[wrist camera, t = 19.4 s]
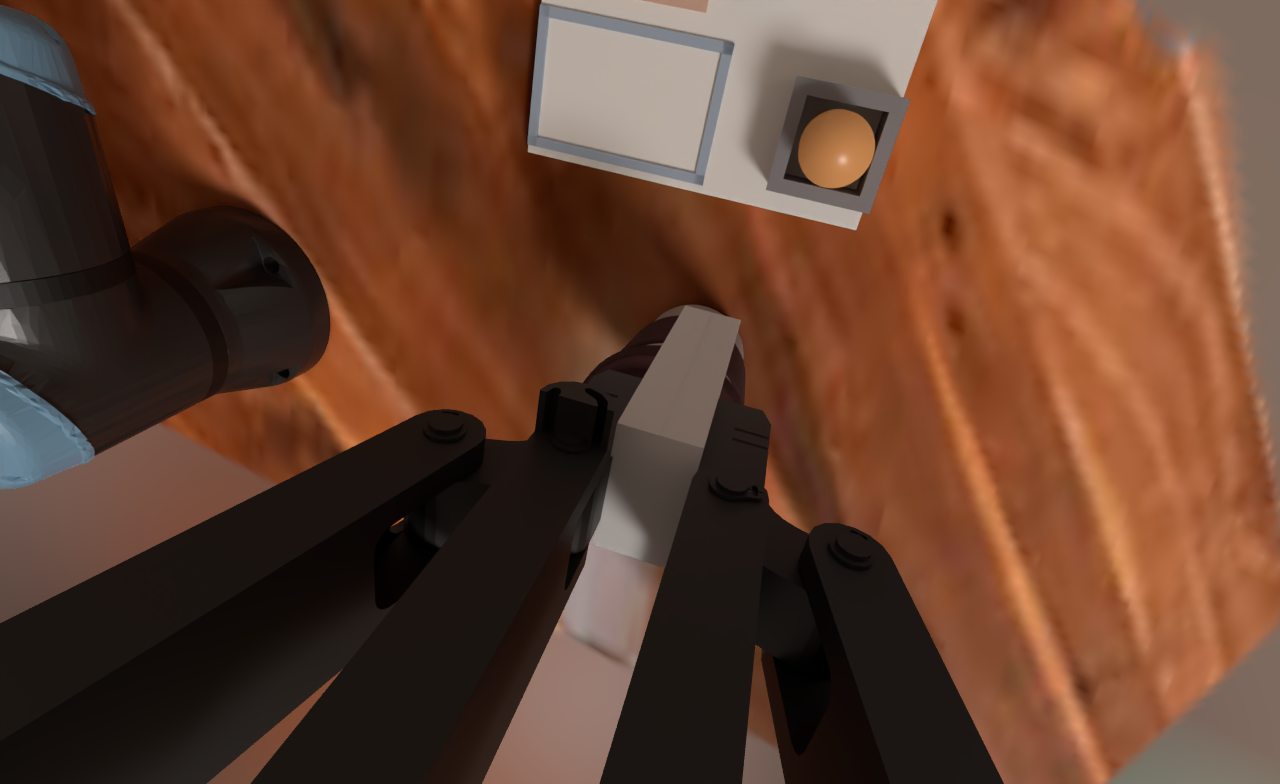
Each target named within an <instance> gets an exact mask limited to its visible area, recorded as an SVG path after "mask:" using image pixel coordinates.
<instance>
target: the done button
mask: <svg viewBox="0 0 1280 784" xmlns="http://www.w3.org/2000/svg"><path fill="white" fill-rule="evenodd" d="M874 150H875V139H874V134H873V131H872V129H871V127H870V125H869V124H868V122H867V121H866V120H865V119H864V118H863V117H862V116H860V115H859V114H857V113H855V112H852V111H849V110H845V109H841V108H833V109H828V110H825V111H822V112H820V113H818V114H817V115H815V116H814V117H813V118H812V119H811V120H810V121H809V122H808V123H807V124H806V126H805V128H804V129H803V131H802V134H801V137H800V141H799V149H798V158H799V163H800V167H801V169H802V171H803V173H804V174H805V176H806V177H807V178H808V179H809V180H810V181H811V182H813V183H814V184H816V185H818V186H821V187H825V188H839V187H844V186H846V185H849V184H851V183H853V182H854V181H856V180H857V179H858V178H859V177H861V176H862V175H863V173H864V172H865V171H866V170H867V168H868V167H869V165H870V163H871V161H872V158H873V155H874Z"/></svg>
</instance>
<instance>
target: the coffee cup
mask: <svg viewBox="0 0 1280 784" xmlns="http://www.w3.org/2000/svg"><path fill="white" fill-rule="evenodd" d="M686 306H690V307H693V308H697V309H701V310H705V311H709V312H712V313H716V314H720V315H723V314H721V313H719V312H718V311H716V310H714V309H711V308H709V307H706V306H701V305H690V304H689V305H686ZM684 307H685V305H682V306H678V307H674V308H672V309H670V310H668V311H666V312H664V313H663V314H661V315H660V316H659V317H658V318H657V319H656V320H655V321H654V322H652V323H651V324H649V325H647V326H646V327H645V328H643V329H642V330H641V331H640V332H639V333H638V334H637V335H636V336H635V337H634V338H633V339H632V340H631V341H630V342H629V343H628V344H627V345H626V346H625V347H624V348H623V349H622V350H621V351H620V352H618V353H616V354H614V355H612V356H610V357H608V358H607V359H605V360H604V361H603V362H601V363H600V364H599V365H598V366H597V367H596V368H595V369H594V370H593V371H592V372H591V373H590V374H589V376H588V377H587V378H586V379H585V381H584V382H583V383H585V384H588V383H589V381H590V380H591V379H592V377H593V376H595V375H597V374H599V373H602V372H604V371H606V370H609V369H610V370H614V371H617V372H621V373H624V374H628V375H631V376H635V377H639V378H642V379H643V377H644V376H645V374H646V372H647V371H648V369H649V367H650V365H651V364H652V362H653V360H654V359H655V357H656V355H657V353H658V352H659V350H660V348H661V346H662V345H663V343H664V341H665V340H666V338H667V336H668V334H669V333H670V331H671V329H672V328H673V326H674V324H675V322H676V321H677V319H678V317H679V315H680V314H681V312H682V310H683V309H684ZM743 356H744V353H743V344H742V341H741V338H740V335H739V333H737V337H736V340H735V344H734V347H733V351H732V354H731V358H730V361H729V365H728V368H727V372H726V375H725V379H724V382H723V386H722V389H721V393H720V396H719V399H723V400H726V401H730V402H733V403H737V404H740V405H744V397H745V367H744V362H743Z"/></svg>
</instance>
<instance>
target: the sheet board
mask: <svg viewBox="0 0 1280 784" xmlns="http://www.w3.org/2000/svg"><path fill="white" fill-rule="evenodd" d="M936 3H937V0H542V3H541V4H540V10H539V21H538V32H537V43H536V54H535V65H534V76H533V87H532V98H531V109H530V120H529V131H528V142H527V144H528V152H530V153H534V154H538V155H542V156H547V157H551V158H555V159H559V160H563V161H568V162H572V163H576V164H580V165H584V166H589V167H593V168H597V169H601V170H605V171H610V172H614V173H618V174H622V175H626V176H631V177H635V178H639V179H643V180H647V181H652V182H656V183H660V184H664V185H668V186H673V187H677V188H681V189H685V190H689V191H694V192H698V193H702V194H706V195H710V196H714V197H719V198H723V199H727V200H731V201H735V202H740V203H744V204H748V205H752V206H756V207H761V208H765V209H769V210H773V211H777V212H782V213H786V214H790V215H794V216H798V217H803V218H807V219H811V220H815V221H819V222H824V223H828V224H832V225H836V226H840V227H845V228H849V229H853V230H856V229H857V226H858V223H859V220H860V218H861V215H862V213H866V214H869V213H870V210H871V208H872V205H873V202H874V199H875V196H876V194H877V191H878V188H879V185H880V183H881V180H882V177H883V174H884V171H885V169H886V166H887V163H888V160H889V158H890V155H891V152H892V149H893V146H894V144H895V141H896V138H897V135H898V133H899V130H900V127H901V124H902V121H903V119H904V116H905V113H906V110H907V108H908V105H909V102H910V99H908V98H903V96H904V93H905V91H906V88H907V85H908V82H909V79H910V77H911V74H912V71H913V68H914V65H915V62H916V60H917V57H918V54H919V51H920V48H921V45H922V43H923V40H924V37H925V34H926V31H927V29H928V26H929V23H930V20H931V17H932V14H933V12H934V9H935V6H936ZM833 108H841V109H845V110H849V111H852V112H855V113H857V114H859V115H860V116H862V117H863V118H864V119H865V120H866V121H867V122H868V124H869V125H870V127H871V129H872V131H873V134H874V139H875V150H874V155H873V158H872V161H871V163H870V165H869V167H868V168H867V170H866V171H865V172H864V173H863V175H862V176H861V177H859V178H858V179H857V180H856V181H854V182H853V183H851V184H849V185H846V186H844V187H839V188H825V187H821V186H818V185H816V184H814V183H813V182H811V181H810V180H809V179H808V178H807V177H806V176H805V174H804V173H803V171H802V169H801V167H800V163H799V158H798V149H799V141H800V137H801V134H802V131H803V129H804V128H805V126H806V124H807V123H808V122H809V121H810V120H811V119H812V118H813V117H814V116H815V115H817V114H818V113H820V112H822V111H825V110H828V109H833Z"/></svg>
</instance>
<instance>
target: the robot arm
mask: <svg viewBox="0 0 1280 784" xmlns="http://www.w3.org/2000/svg"><path fill="white" fill-rule="evenodd" d="M94 116H97V114H96V110H95V108H94V106H93V105H92V104H91V103H90V102H89V101H88V100H87V97H86V94H85V91H84V88H83V85H82V82H81V79H80V76H79V73H78V70H77V67H76V64H75V61H74V59H73V56H72V53H71V50H70V48H69V46H68V45H67V43H66V42H65V40H64V39H63V38H62V36H61V35H60V34H59V33H58V32H57V31H56V30H55V29H53V28H52V27H51V26H50V25H48V24H47V23H46V22H44V21H42V20H41V19H39V18H37V17H35V16H33V15H31V14H29V13H26V12H24V11H21V10H18V9H14V8H11V7H7V6H4V5H0V489H13V488H19V487H23V486H27V485H30V484H33V483H36V482H38V481H40V480H43V479H45V478H48V477H50V476H52V475H55V474H57V473H59V472H62V471H64V470H67V469H69V468H72V467H74V466H76V465H82V464H85V463H88V462H89V461H91V460H92V459H93V457H94V456H96V455H98V454H100V453H102V452H104V451H105V450H107V449H109V448H111V447H113V446H115V445H117V444H119V443H121V442H123V441H125V440H127V439H129V438H131V437H133V436H135V435H136V434H139V433H141V432H143V431H145V430H146V429H148V428H150V427H152V426H154V425H156V424H158V423H160V422H162V421H164V420H166V419H168V418H170V417H172V416H174V415H176V414H178V413H180V412H182V411H183V410H185V409H187V408H189V407H191V406H193V405H195V404H197V403H199V402H201V401H203V400H205V399H207V398H209V397H211V396H213V395H215V394H220V393H227V392H234V391H241V390H248V389H255V388H262V387H269V386H275V385H279V384H282V383H285V382H288V381H290V380H292V379H294V378H295V377H297V376H299V375H301V374H303V373H305V372H306V371H308V370H310V369H311V368H312V367H313V366H315V365H316V364H317V362H318V361H319V360H320V359H321V357H322V355H323V354H324V352H325V349H326V347H327V344H328V340H329V334H330V315H329V308H328V304H327V299H326V296H325V293H324V290H323V287H322V285H321V283H320V280H319V278H318V276H317V274H316V272H315V271H314V269H313V267H312V265H311V264H310V262H309V261H308V259H307V258H306V257H305V255H304V254H303V253H302V251H301V250H300V249H299V248H298V246H297V245H296V244H295V243H294V242H293V241H292V240H291V239H290V238H289V237H288V236H287V235H286V234H285V233H284V232H282V231H281V230H280V229H279V228H277V227H276V226H275V225H273V224H272V223H270V222H269V221H267V220H266V219H264V218H262V217H260V216H258V215H256V214H254V213H252V212H249V211H247V210H243V209H240V208H235V207H228V206H218V207H211V208H206V209H201V210H195V211H191V212H187V213H185V214H182V215H180V216H177V217H176V218H174V219H172V220H171V221H169V222H168V223H167V224H166V225H164V226H162V227H161V228H159V229H158V230H156V231H155V232H153V233H151V234H150V235H148V236H147V237H145V238H144V239H142V240H141V241H139V242H138V243H136V244H135V245H134V246H132V247H131V248H130V245H129V241H128V238H127V234H126V230H125V227H124V223H123V220H122V216H121V212H120V209H119V205H118V202H117V198H116V195H115V191H114V187H113V184H112V180H111V177H110V173H109V169H108V166H107V162H106V159H105V155H104V151H103V148H102V144H101V141H100V137H99V133H98V130H97V126H96V123H95V119H94ZM740 323H741V320H739V319H735V318H731V317H728V316H724V315H720V314H716V313H712V312H709V311H705V310H701V309H697V308H693V307H690V306H686V305H685V307H684V309H683V310H682V312H681V314H680V315H679V317H678V319H677V321H676V322H675V324H674V326H673V328H672V329H671V331H670V333H669V334H668V336H667V338H666V340H665V341H664V343H663V345H662V346H661V348H660V350H659V352H658V353H657V355H656V357H655V359H654V360H653V362H652V364H651V365H650V367H649V369H648V371H647V372H646V374H645V376H644V377H643V379H642V378H639V377H635V376H631V375H628V374H624V373H621V372H617V371H614V370H610V369H609V370H606V371H604V372H602V373H599V374H597V375H595V376H593V377H592V379H591V380H590V381H589V383H588V384H585V383H579V382H557V383H553V384H549V385H547V386H545V387H544V388H542V389H541V390H540V395H539V403H538V411H537V419H536V427H535V431H534V433H533V434H532V435H531V436H530V438H529V439H528V440H527V441H503V440H493V439H485V437H486V429H485V427H484V425H483V423H482V421H480V420H479V419H477V418H476V417H474V416H473V415H471V414H467V413H464V412H461V411H457V410H449V409H442V410H433V411H427V412H424V413H421V414H418V415H416V416H414V417H412V418H410V419H408V420H406V421H404V422H402V423H400V424H398V425H396V426H394V427H392V428H390V429H388V430H386V431H384V432H382V433H380V434H378V435H376V436H374V437H372V438H370V439H368V440H366V441H364V442H362V443H360V444H358V445H356V446H354V447H352V448H350V449H348V450H346V451H344V452H342V453H340V454H338V455H336V456H334V457H332V458H330V459H328V460H326V461H324V462H322V463H320V464H318V465H316V466H314V467H312V468H310V469H308V470H306V471H304V472H302V473H300V474H298V475H296V476H294V477H292V478H290V479H288V480H286V481H284V482H282V483H280V484H278V485H276V486H274V487H272V488H270V489H268V490H266V491H264V492H262V493H260V494H258V495H256V496H254V497H252V498H250V499H248V500H246V501H244V502H242V503H240V504H238V505H236V506H234V507H232V508H230V509H228V510H226V511H224V512H222V513H220V514H218V515H216V516H214V517H212V518H210V519H208V520H206V521H204V522H202V523H200V524H198V525H196V526H194V527H192V528H190V529H188V530H186V531H184V532H182V533H180V534H178V535H176V536H174V537H172V538H170V539H168V540H166V541H164V542H162V543H160V544H158V545H156V546H154V547H152V548H150V549H148V550H146V551H144V552H142V553H140V554H138V555H136V556H134V557H132V558H130V559H128V560H126V561H124V562H122V563H120V564H118V565H116V566H114V567H112V568H110V569H108V570H106V571H104V572H102V573H100V574H98V575H96V576H94V577H92V578H90V579H88V580H86V581H84V582H82V583H80V584H78V585H76V586H74V587H72V588H70V589H68V590H66V591H64V592H62V593H60V594H58V595H56V596H54V597H52V598H50V599H48V600H46V601H44V602H42V603H40V604H38V605H36V606H34V607H32V608H30V609H28V610H26V611H24V612H22V613H20V614H18V615H16V616H14V617H12V618H10V619H8V620H6V621H4V622H2V623H0V784H206V783H208V782H209V781H210V780H211V779H212V778H214V777H215V776H216V775H217V774H218V773H219V772H221V771H222V770H223V769H224V768H226V767H227V766H228V765H229V764H230V763H231V762H232V761H234V760H235V759H236V758H237V757H239V756H240V755H241V754H242V753H243V752H245V751H246V750H247V749H248V748H249V747H250V746H251V745H253V744H254V743H255V742H256V741H257V740H259V739H260V738H261V737H262V736H264V735H265V734H266V733H267V732H268V731H269V730H271V729H272V728H273V727H274V726H275V725H277V724H278V723H279V722H280V721H281V720H283V719H284V718H285V717H286V716H287V715H288V714H290V713H291V712H292V711H293V710H294V709H296V708H297V707H298V706H299V705H300V704H302V703H303V702H304V701H305V700H306V699H308V698H309V697H310V696H311V695H312V694H313V693H315V692H316V691H317V690H318V689H319V688H321V687H322V686H323V685H324V684H325V683H326V682H328V681H329V680H330V679H331V678H332V677H334V676H335V675H336V674H337V673H338V672H340V671H341V670H342V669H343V670H342V671H341V672H340V673H339V675H338V676H337V677H336V678H335V680H334V681H333V682H332V683H331V685H330V686H329V687H328V689H326V691H325V692H324V693H323V694H322V696H321V697H320V698H319V699H318V701H317V702H316V703H315V704H314V706H313V707H312V708H311V709H310V711H309V712H308V713H307V714H306V716H305V717H304V718H303V719H302V720H301V722H300V723H299V724H298V725H297V727H296V728H295V729H294V730H293V732H292V733H291V734H290V735H289V737H288V738H287V739H286V740H285V742H284V743H283V744H282V745H281V747H280V748H279V749H278V750H277V751H276V753H275V754H274V755H273V756H272V758H271V759H270V760H269V761H268V763H267V764H266V765H265V766H264V768H263V769H262V770H261V771H260V773H259V774H258V775H257V776H256V778H255V779H254V780H253V781H252V783H251V784H482V782H483V780H484V778H485V775H486V774H487V772H488V769H489V767H490V765H491V763H492V761H493V759H494V756H495V755H496V752H497V750H498V748H499V746H500V744H501V742H502V739H503V737H504V735H505V733H506V731H507V729H508V727H509V725H510V723H511V720H512V718H513V716H514V714H515V712H516V710H517V707H518V705H519V703H520V701H521V699H522V697H523V695H524V693H525V690H526V688H527V686H528V684H529V682H530V680H531V678H532V675H533V674H534V671H535V669H536V667H537V665H538V663H539V661H540V659H541V656H542V654H543V652H544V650H545V648H546V646H547V644H548V642H549V639H550V637H551V635H552V633H553V631H554V629H555V627H556V625H557V622H558V620H559V618H560V616H561V614H562V612H563V610H564V607H565V605H566V603H567V601H568V599H569V597H570V595H571V593H572V590H573V588H574V586H575V584H576V582H577V580H578V578H579V576H580V573H581V571H582V569H583V567H584V565H585V561H586V556H587V550H588V545H589V542H590V540H591V538H592V536H593V534H594V532H595V530H596V533H595V538H594V543H593V545H595V546H598V547H602V548H605V549H608V550H611V551H614V552H617V553H620V554H623V555H626V556H629V557H633V558H636V559H639V560H642V561H645V562H648V563H651V564H654V565H657V566H660V567H664V568H665V570H664V573H663V576H662V580H661V583H660V586H659V589H658V593H657V596H656V599H655V603H654V606H653V609H652V613H651V616H650V619H649V622H648V626H647V629H646V632H645V636H644V639H643V642H642V645H641V649H640V652H639V655H638V659H637V662H636V665H635V668H634V672H633V675H632V678H631V682H630V685H629V688H628V692H627V695H626V698H625V701H624V705H623V708H622V711H621V715H620V718H619V721H618V724H617V728H616V731H615V734H614V738H613V741H612V744H611V748H610V751H609V754H608V757H607V761H606V764H605V767H604V770H603V774H602V777H601V781H600V784H742V777H743V767H744V756H745V745H746V736H747V725H748V715H749V704H750V694H751V684H752V673H753V663H754V652H755V644H756V645H757V646H759V647H760V648H762V654H761V661H762V666H763V671H764V676H765V681H766V686H767V692H768V697H769V702H770V707H771V712H772V717H773V723H774V728H775V733H776V738H777V743H778V748H779V753H780V759H781V764H782V769H783V774H784V779H785V784H1004V783H1003V781H1002V779H1001V777H1000V775H999V773H998V771H997V769H996V767H995V765H994V763H993V761H992V759H991V757H990V755H989V753H988V751H987V749H986V747H985V745H984V743H983V741H982V739H981V737H980V735H979V733H978V731H977V729H976V727H975V724H974V722H973V720H972V718H971V716H970V714H969V712H968V710H967V708H966V706H965V704H964V702H963V700H962V698H961V696H960V694H959V692H958V690H957V688H956V686H955V684H954V682H953V680H952V678H951V676H950V674H949V672H948V670H947V668H946V666H945V664H944V662H943V660H942V658H941V656H940V654H939V652H938V650H937V648H936V646H935V644H934V642H933V640H932V638H931V636H930V634H929V632H928V630H927V628H926V626H925V624H924V622H923V620H922V618H921V616H920V614H919V612H918V610H917V608H916V606H915V604H914V602H913V600H912V598H911V596H910V594H909V592H908V590H907V588H906V586H905V584H904V582H903V580H902V578H901V576H900V574H899V572H898V570H897V568H896V566H895V564H894V562H893V560H892V558H891V557H890V555H889V554H888V552H887V551H886V550H885V548H884V547H883V546H882V545H881V544H880V543H878V542H877V541H876V540H875V539H873V538H872V537H871V536H870V535H868V534H866V533H864V532H862V531H860V530H858V529H856V528H854V527H850V526H846V525H843V524H839V523H824V524H821V525H818V526H816V527H814V528H813V529H812V531H811V532H810V534H808V533H806V532H804V531H802V530H800V529H798V528H797V527H795V526H793V525H791V524H790V523H788V522H787V521H785V520H784V519H782V518H781V517H780V516H779V515H778V514H777V513H775V512H774V510H773V509H772V508H771V507H770V505H769V498H768V493H767V490H766V489H765V488H764V485H765V476H766V466H767V457H768V448H769V438H770V429H771V424H770V422H769V421H768V419H767V417H766V415H765V414H764V412H763V411H762V410H758V409H755V408H751V407H747V406H744V405H740V404H737V403H733V402H730V401H726V400H723V399H719V396H720V393H721V389H722V386H723V382H724V379H725V375H726V372H727V368H728V365H729V361H730V358H731V354H732V351H733V347H734V344H735V340H736V337H737V333H738V330H739V326H740ZM403 517H404V520H402V521H401V522H399V523H398V524H396V525H394V526H392V525H393V524H394V523H396V522H397V521H399V520H400V519H402V518H403ZM391 526H392V527H391Z"/></svg>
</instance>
